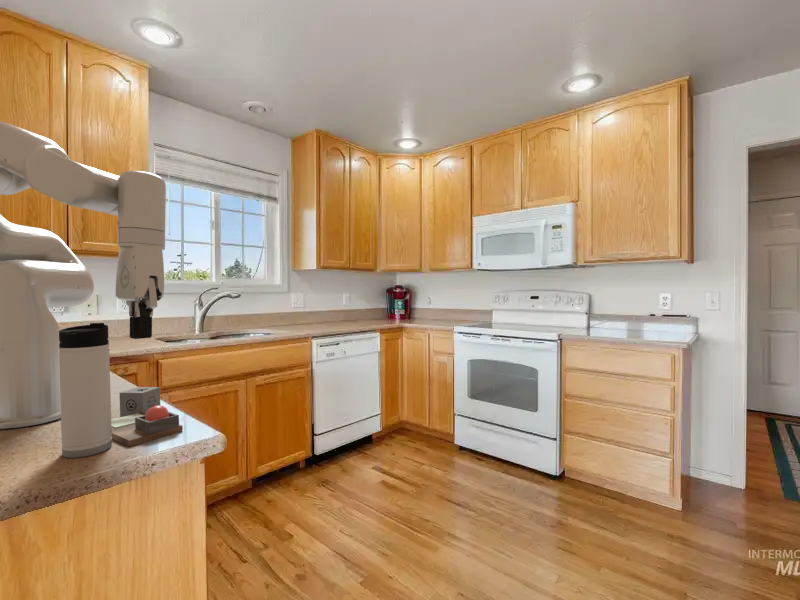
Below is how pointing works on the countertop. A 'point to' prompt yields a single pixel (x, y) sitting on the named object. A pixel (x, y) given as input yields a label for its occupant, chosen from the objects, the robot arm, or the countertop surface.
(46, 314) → the robot arm
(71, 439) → the travel mug
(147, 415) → the dome
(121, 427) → the button base
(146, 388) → the grey sad face cube
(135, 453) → the countertop surface
